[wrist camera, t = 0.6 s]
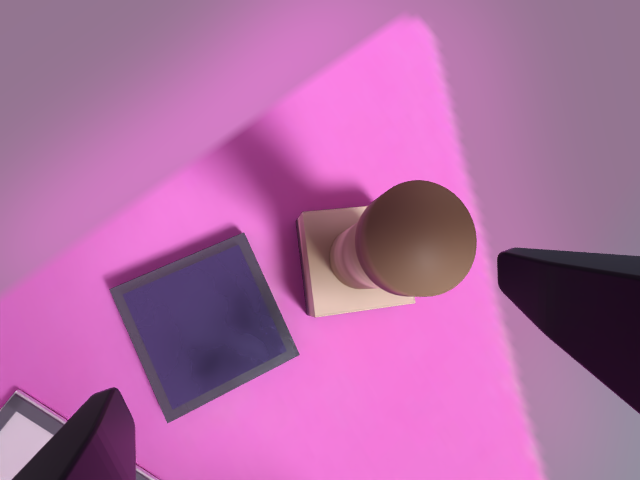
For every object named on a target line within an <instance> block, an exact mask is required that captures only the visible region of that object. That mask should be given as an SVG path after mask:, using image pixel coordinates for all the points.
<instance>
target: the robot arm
mask: <svg viewBox="0 0 640 480" xmlns="http://www.w3.org/2000/svg"><path fill="white" fill-rule="evenodd" d="M497 268H498V285H499V287H500V289H501V291H502V292H503V293H504V294H505V295H506V296H507V297H508V298H509V299H510V300H511V301H512V302H513V303H514V304H515V305H516V306H517V307H518V308H519V309H520V310H521V311H522V312H523V313H524V314H525V315H526V316H527V317H528V318H529V319H530V320H531V321H532V322H533V323H534V324H535V325H536V326H537V327H538V328H539V329H540V330H541V331H542V332H543V333H544V334H545V335H546V336H548V337H549V338H550V339H551V340H552V341H553V342H554V343H555V344H557V345H558V346H559V347H560V348H562V349H563V350H564V351H565V352H566V353H568V354H569V355H570V356H571V357H572V358H574V359H575V360H576V361H577V362H578V363H580V364H581V365H582V366H583V367H584V368H585V369H587V370H588V371H589V372H590V373H591V374H593V375H594V376H595V377H596V378H597V379H599V380H600V381H601V382H602V383H603V384H605V385H606V386H607V387H608V388H609V389H611V390H612V391H613V392H614V393H615V394H617V395H618V396H619V397H620V398H621V399H623V400H624V401H625V402H626V403H627V404H629V405H630V406H631V407H632V408H633V409H634V410H636V411H637V412H638V413H639V414H640V256H628V255H615V254H600V253H586V252H572V251H557V250H543V249H528V248H511V249H508V250H506V251H503V252H501V253H500V254H499V255H498V258H497ZM12 480H136V451H135V425H134V421H133V418H132V415H131V413H130V411H129V409H128V407H127V405H126V403H125V401H124V399H123V397H122V395H121V393H120V391H119V390H118V389H117V388H114V387H113V388H109V389H106V390H104V391H101V392H98V393H95V394H93V395H92V396H91V397H90V398H89V399H88V400H87V401H86V402H85V403H84V404H83V405H82V406H81V407H80V408H79V410H78V411H77V412H76V413H75V414H74V415H73V416H72V417H71V418H70V419H69V420H68V421H67V422H66V423H65V424H64V425H63V426H62V427H61V428H60V429H59V430H58V431H57V433H56V434H55V435H54V436H53V437H52V438H51V439H50V440H49V441H48V442H47V443H46V444H45V445H44V446H43V447H42V448H41V449H40V450H39V451H38V452H37V453H36V454H35V456H34V457H33V458H32V459H31V460H30V461H29V462H28V463H27V464H26V465H25V466H24V467H23V468H22V469H21V470H20V471H19V472H18V473H17V474H16V475H15V476H14V477H13V479H12Z"/></svg>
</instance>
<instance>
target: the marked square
mask: <svg viewBox="0 0 640 480" xmlns="http://www.w3.org/2000/svg"><path fill="white" fill-rule="evenodd" d="M66 422H67V420H66V419H64V418H63V417H61V416H60V415H58V414H57V413H55V412H53V411H52V410H50V409H49V408H47V407H46V406H44V405H43V404H41V403H39V402H38V401H36V400H35V399H33V398H32V397H30V396H29V395H27V394H25V393H24V392H22V391H21V390H16V391H15V392H14V394H13V395H12V396H11V397H10V398H9V400H8V401H7V402H6V403H5V405H4V406H3V407H2V408H1V409H0V480H12V479H13V477H14V476H15V475H16V474H17V473H18V472H19V471H20V470H21V469H22V468H23V467H24V466H25V465H26V464H27V463H28V462H29V461H30V460H31V459H32V458H33V457H34V456H35V454H36V453H37V452H38V451H39V450H40V449H41V448H42V447H43V446H44V445H45V444H46V443H47V442H48V441H49V440H50V439H51V438H52V437H53V436H54V435H55V434H56V433H57V431H58V430H59V429H60V428H61V427H62V426H63V425H64V424H65V423H66ZM136 480H159V479H158V478H156V477H154V476H153V475H151V474H150V473H148V472H147V471H145V470H144V469H142V468H140V467H139V466H137V465H136Z"/></svg>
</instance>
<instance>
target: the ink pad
mask: <svg viewBox="0 0 640 480" xmlns="http://www.w3.org/2000/svg"><path fill="white" fill-rule="evenodd" d="M110 292H111V294H112V296H113V299H114V301H115V303H116V306H117V308H118V310H119V313H120V315H121V317H122V319H123V322H124V324H125V326H126V329H127V331H128V333H129V336H130V338H131V340H132V343H133V345H134V347H135V349H136V352H137V354H138V356H139V359H140V361H141V363H142V366H143V368H144V370H145V373H146V375H147V377H148V379H149V382H150V384H151V386H152V389H153V391H154V393H155V396H156V398H157V400H158V402H159V405H160V407H161V409H162V412H163V414H164V416H165V419H166V421H167V423H169V422H171V421H173V420H175V419H177V418H179V417H181V416H183V415H185V414H187V413H188V412H190V411H192V410H194V409H196V408H198V407H200V406H202V405H204V404H206V403H208V402H210V401H212V400H213V399H215V398H217V397H219V396H221V395H223V394H225V393H227V392H229V391H231V390H233V389H235V388H237V387H239V386H240V385H242V384H244V383H246V382H248V381H250V380H252V379H254V378H256V377H258V376H260V375H262V374H264V373H265V372H267V371H269V370H271V369H273V368H275V367H277V366H279V365H281V364H283V363H285V362H287V361H289V360H290V359H292V358H294V357H296V356H298V355H299V352H298V350H297V348H296V346H295V344H294V341H293V339H292V337H291V335H290V333H289V330H288V328H287V326H286V324H285V322H284V319H283V317H282V315H281V313H280V311H279V308H278V306H277V304H276V302H275V300H274V297H273V295H272V293H271V291H270V289H269V286H268V284H267V282H266V280H265V277H264V275H263V273H262V271H261V269H260V266H259V264H258V262H257V260H256V258H255V255H254V253H253V251H252V249H251V247H250V244H249V242H248V240H247V238H246V236H245V233H241V234H239V235H237V236H234V237H232V238H230V239H227V240H225V241H222V242H220V243H218V244H215V245H213V246H211V247H208V248H206V249H204V250H201V251H199V252H196V253H194V254H192V255H189V256H187V257H185V258H182V259H180V260H178V261H175V262H173V263H171V264H168V265H166V266H163V267H161V268H159V269H156V270H154V271H152V272H149V273H147V274H145V275H142V276H140V277H138V278H135V279H133V280H130V281H128V282H126V283H123V284H121V285H119V286H116V287H114V288H112V289H110Z"/></svg>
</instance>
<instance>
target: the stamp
mask: <svg viewBox="0 0 640 480" xmlns="http://www.w3.org/2000/svg"><path fill="white" fill-rule="evenodd" d="M296 228H297V236H298V244H299V253H300V261H301V269H302V277H303V286H304V294H305V302H306V311H307V315H309V316H312V317H322V316H329V315H336V314H343V313H350V312H357V311H364V310H371V309H378V308H385V307H392V306H399V305H405V304H412V303H415V297H427V296H435V295H440V294H443V293H445V292H447V291H449V290H451V289H453V288H454V287H455V286H457V285H458V284H459V283H460V282H461V281H462V280H463V279H464V278H465V276H466V275H467V274H468V272H469V270H470V268H471V266H472V264H473V261H474V258H475V254H476V242H477V239H476V231H475V227H474V223H473V220H472V218H471V216H470V214H469V212H468V210H467V208H466V207H465V205H464V204H463V203H462V201H461V200H460V199H459V198H458V197H457V196H456V195H455V194H454V193H452V192H451V191H450V190H448V189H446V188H445V187H443V186H441V185H438V184H436V183H433V182H429V181H422V180H414V181H407V182H404V183H400V184H398V185H396V186H394V187H392V188H391V189H389V190H388V191H386V192H385V193H384V194H382V195H381V196H379V197H378V198H377V199H375V200H374V201H373V202H372V203H371V204H369V206H364V207H352V208H341V209H329V210H318V211H306V212H302V213H301V215H300V216H299V217H298V219H297V220H296Z"/></svg>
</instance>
